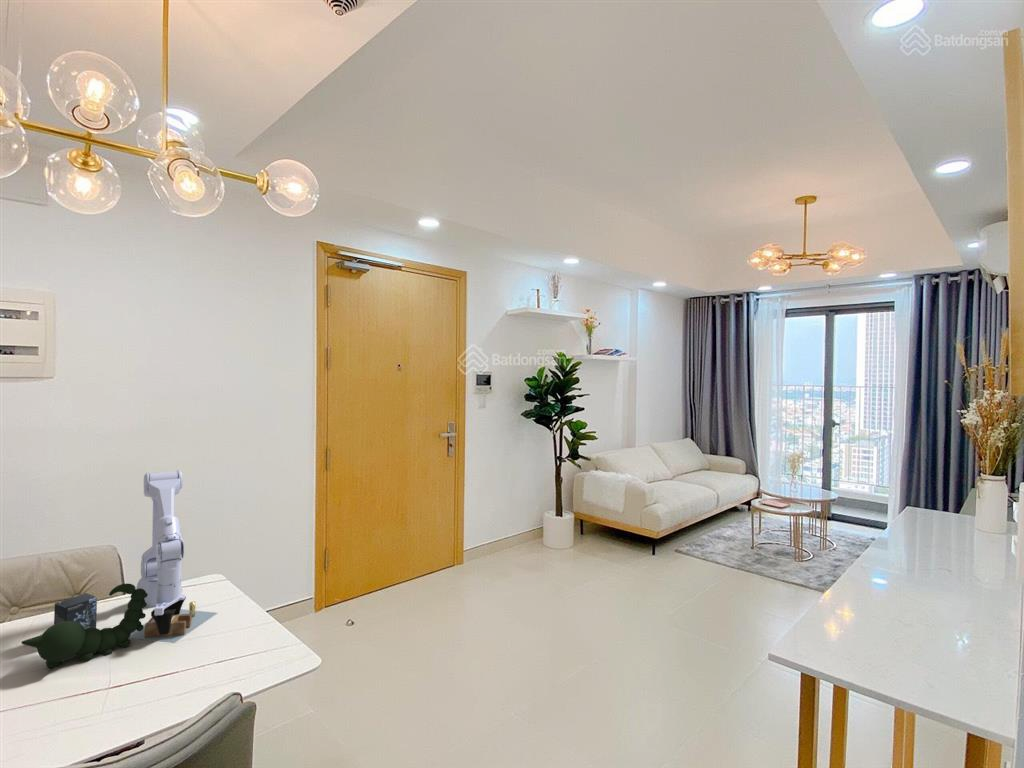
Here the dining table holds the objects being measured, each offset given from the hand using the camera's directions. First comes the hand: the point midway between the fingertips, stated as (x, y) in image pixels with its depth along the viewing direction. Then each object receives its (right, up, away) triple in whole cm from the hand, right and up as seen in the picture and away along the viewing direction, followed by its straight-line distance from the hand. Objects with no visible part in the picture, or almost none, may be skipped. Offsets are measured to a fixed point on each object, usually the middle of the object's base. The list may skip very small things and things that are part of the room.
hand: (168, 628), depth 150 cm
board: (-2, -2, +4) cm, 5 cm away
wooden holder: (0, -1, 0) cm, 1 cm away
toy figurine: (-13, -2, -13) cm, 18 cm away
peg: (+1, -2, +9) cm, 10 cm away
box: (-25, -1, -3) cm, 25 cm away
